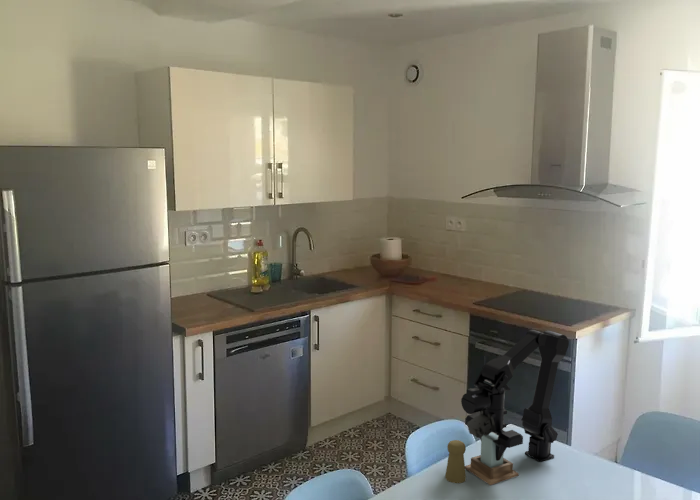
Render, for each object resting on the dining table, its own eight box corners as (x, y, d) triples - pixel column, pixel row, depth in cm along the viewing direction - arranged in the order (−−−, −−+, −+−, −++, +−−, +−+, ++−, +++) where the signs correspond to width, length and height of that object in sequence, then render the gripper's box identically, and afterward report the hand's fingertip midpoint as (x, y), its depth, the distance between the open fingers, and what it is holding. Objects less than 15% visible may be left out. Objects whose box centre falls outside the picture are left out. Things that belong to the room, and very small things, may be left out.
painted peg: (492, 459, 183) (493, 431, 182) (502, 466, 179) (504, 437, 178) (480, 463, 180) (481, 434, 179) (491, 470, 177) (492, 440, 175)
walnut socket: (492, 460, 187) (492, 449, 187) (518, 475, 178) (519, 464, 177) (464, 468, 182) (465, 457, 181) (490, 485, 173) (490, 473, 172)
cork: (465, 484, 173) (467, 447, 171) (444, 482, 174) (445, 445, 173) (466, 474, 179) (467, 438, 177) (445, 471, 180) (446, 436, 178)
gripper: (451, 400, 181) (450, 450, 183) (495, 423, 165) (493, 477, 167) (480, 394, 187) (478, 442, 189) (525, 415, 171) (523, 467, 173)
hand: (492, 456), depth 179 cm, fingers closed on painted peg, 4 cm apart
